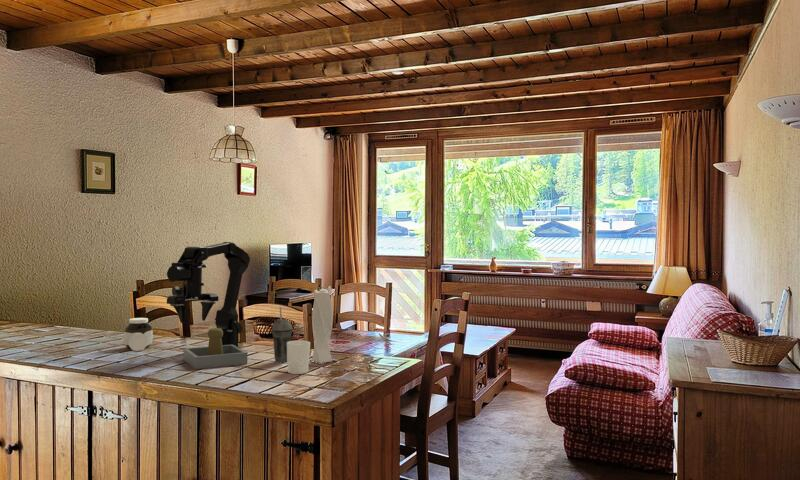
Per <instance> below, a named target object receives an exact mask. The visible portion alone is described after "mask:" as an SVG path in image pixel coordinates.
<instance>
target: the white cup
mask: <svg viewBox="0 0 800 480" xmlns="http://www.w3.org/2000/svg"><path fill="white" fill-rule="evenodd" d="M310 354H311V341H309V340H300V339H298V340H290V341H289V342H287V362H286V363H287V372H288V374H290V375H291V374H292V375H303V374H308V372H309V364H310V361H309V360H310Z"/></svg>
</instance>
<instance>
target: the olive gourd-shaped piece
mask: <svg viewBox="0 0 800 480" xmlns="http://www.w3.org/2000/svg"><path fill="white" fill-rule="evenodd" d="M207 335H208V338H209V339H208V345H207V347H208V351H207V356H208V355H220V354H223V347H222V339H221V337H222V336H223V330H222V329H220V328H217V327H212V328H210V329H208V331H207Z"/></svg>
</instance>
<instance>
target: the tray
mask: <svg viewBox="0 0 800 480" xmlns="http://www.w3.org/2000/svg"><path fill="white" fill-rule="evenodd" d="M222 347H223V354H220V355H208V356H207V351H208V346H196V347H188V348H187V347H185V348H183V361H185V362H186V363H187V364H188V365H189V366H190V367H192V368H193V369H194V370H200V369H212V368H219V367H229V366H240V365H248V351H245V350H243V349H242V348H238V347H237V346H235V345H222Z"/></svg>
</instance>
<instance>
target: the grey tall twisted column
mask: <svg viewBox="0 0 800 480" xmlns="http://www.w3.org/2000/svg"><path fill="white" fill-rule="evenodd" d="M318 290H319V291H318ZM318 290H317V289H315V290H314V301H313V306H312V314H311V315H312V316H311V322H312V323H311V325H312V333H313V340H314V349H313V352H312V356H311V359H309V360H310V361H309V362H311V361H314V362H317V363H316V364H318V363H320V364H319V365H322V364H321V363H325V362H329V361H332V360H333V359H332V355H331V354H332V353H331V349H330V344H329V343H330V339H331V335H332V330H333V329H332V328H333V321H334V317H333V316H334V315H333V313H334V312H333V305H332V297H331V294H332V286H331V285H329V286H328V287H327V289H326V288H325V289H322V288H321V289H318ZM314 362H313V363H314ZM325 364H326V363H325Z"/></svg>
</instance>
